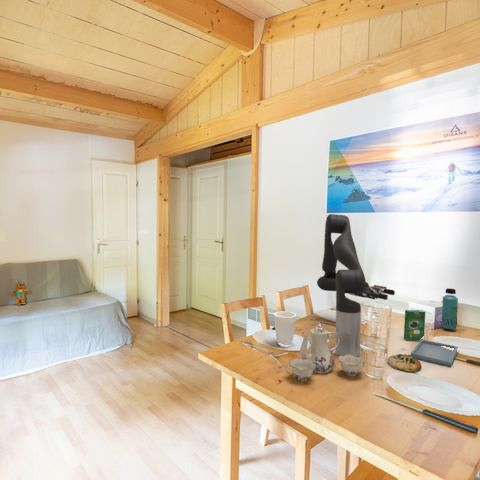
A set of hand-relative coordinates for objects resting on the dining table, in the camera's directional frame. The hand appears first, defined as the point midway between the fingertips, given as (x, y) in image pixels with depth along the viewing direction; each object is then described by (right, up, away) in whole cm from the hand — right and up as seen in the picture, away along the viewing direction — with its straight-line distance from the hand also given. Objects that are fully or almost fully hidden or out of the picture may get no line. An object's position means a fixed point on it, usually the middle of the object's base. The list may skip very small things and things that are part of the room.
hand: (390, 295), depth 150 cm
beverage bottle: (+32, -18, +8) cm, 38 cm away
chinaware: (-40, -21, -35) cm, 57 cm away
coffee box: (+8, -19, -5) cm, 21 cm away
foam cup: (-50, -20, -10) cm, 54 cm away
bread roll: (-9, -21, -31) cm, 38 cm away
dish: (+7, -20, -21) cm, 30 cm away
